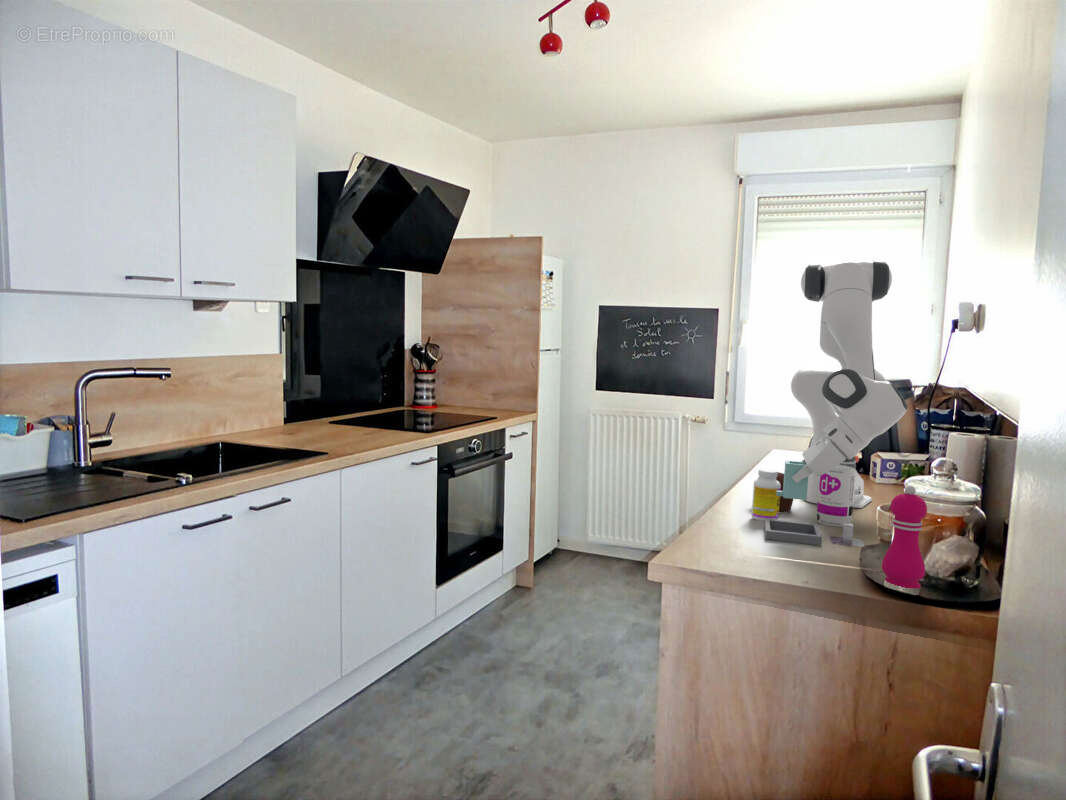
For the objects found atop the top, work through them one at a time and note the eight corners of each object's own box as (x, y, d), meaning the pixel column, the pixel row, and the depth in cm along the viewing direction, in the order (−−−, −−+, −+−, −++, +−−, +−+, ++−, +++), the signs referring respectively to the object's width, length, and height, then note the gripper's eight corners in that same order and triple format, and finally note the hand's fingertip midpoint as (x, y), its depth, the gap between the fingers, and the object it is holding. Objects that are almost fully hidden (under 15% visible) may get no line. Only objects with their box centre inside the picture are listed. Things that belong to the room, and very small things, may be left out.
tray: (764, 528, 179) (765, 518, 178) (816, 534, 175) (817, 524, 175) (765, 541, 167) (765, 530, 167) (821, 547, 164) (822, 536, 164)
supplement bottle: (779, 524, 184) (783, 473, 183) (752, 521, 186) (756, 471, 184) (776, 517, 191) (780, 469, 190) (750, 515, 192) (753, 467, 191)
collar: (776, 493, 174) (778, 459, 173) (805, 496, 172) (807, 462, 171) (776, 497, 169) (779, 462, 168) (806, 500, 167) (809, 465, 167)
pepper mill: (872, 584, 140) (881, 481, 138) (908, 584, 140) (917, 482, 139) (893, 597, 133) (903, 489, 131) (931, 598, 133) (941, 490, 132)
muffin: (743, 505, 205) (746, 469, 204) (774, 503, 209) (777, 468, 208) (772, 515, 194) (775, 478, 193) (805, 512, 198) (807, 476, 197)
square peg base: (829, 537, 173) (830, 519, 173) (861, 541, 171) (862, 522, 171) (832, 545, 166) (833, 526, 166) (865, 549, 165) (867, 529, 164)
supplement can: (835, 529, 181) (840, 470, 180) (809, 521, 188) (813, 464, 187) (857, 527, 185) (862, 468, 183) (831, 519, 192) (835, 462, 191)
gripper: (827, 424, 177) (782, 461, 180) (836, 433, 157) (785, 474, 161) (845, 444, 176) (799, 480, 180) (857, 456, 156) (805, 496, 160)
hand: (793, 477), depth 170 cm, fingers closed on collar, 5 cm apart
